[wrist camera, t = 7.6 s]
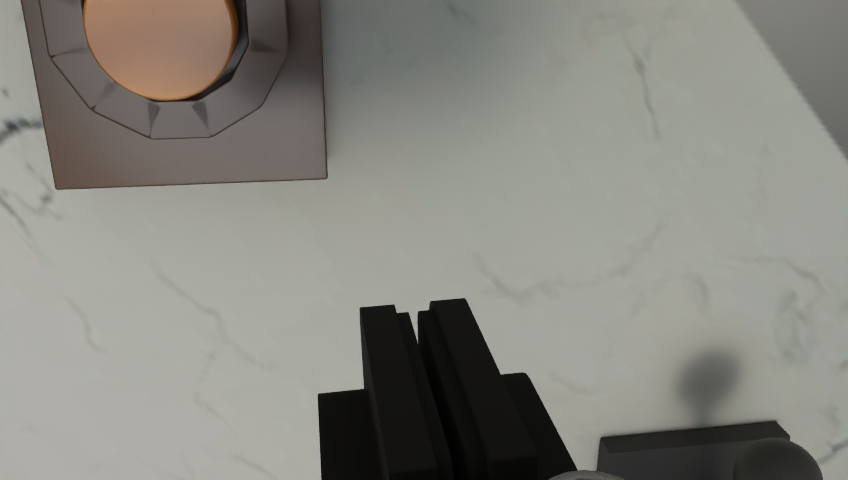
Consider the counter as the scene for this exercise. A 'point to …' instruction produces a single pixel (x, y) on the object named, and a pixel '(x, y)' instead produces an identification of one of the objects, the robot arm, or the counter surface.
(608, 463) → the ball-topped lever switch base
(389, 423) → the robot arm
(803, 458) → the ball-topped lever switch
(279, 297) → the counter surface
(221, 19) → the warm button
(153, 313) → the counter surface
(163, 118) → the control block
